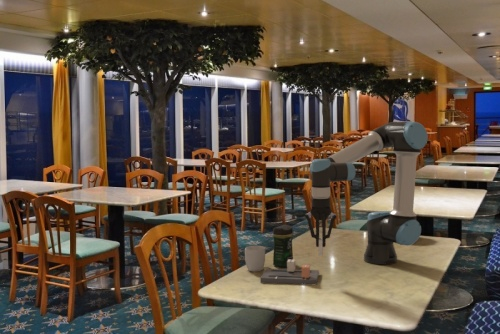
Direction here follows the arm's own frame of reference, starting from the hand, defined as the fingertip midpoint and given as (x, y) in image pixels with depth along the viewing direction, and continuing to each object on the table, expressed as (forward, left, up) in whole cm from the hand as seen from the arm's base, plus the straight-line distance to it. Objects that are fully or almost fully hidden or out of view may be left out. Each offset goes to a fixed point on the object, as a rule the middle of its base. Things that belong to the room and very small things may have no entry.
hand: (320, 254), depth 224 cm
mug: (+30, -18, -12) cm, 37 cm away
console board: (+13, -4, -12) cm, 18 cm away
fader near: (+6, 0, -9) cm, 11 cm away
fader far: (+13, -8, -9) cm, 18 cm away
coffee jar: (+19, -25, -12) cm, 33 cm away
